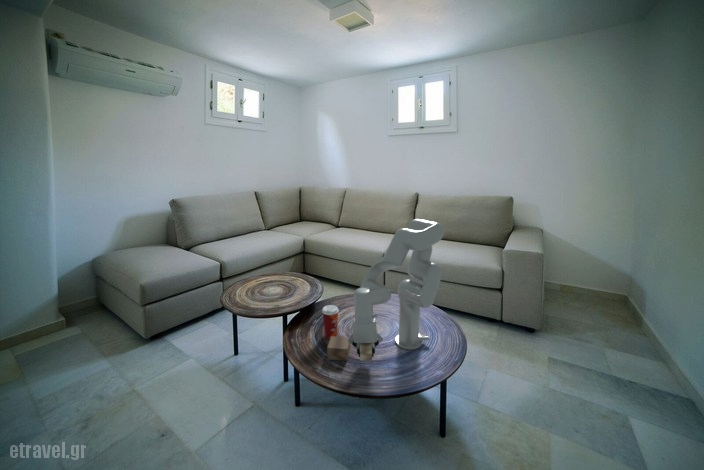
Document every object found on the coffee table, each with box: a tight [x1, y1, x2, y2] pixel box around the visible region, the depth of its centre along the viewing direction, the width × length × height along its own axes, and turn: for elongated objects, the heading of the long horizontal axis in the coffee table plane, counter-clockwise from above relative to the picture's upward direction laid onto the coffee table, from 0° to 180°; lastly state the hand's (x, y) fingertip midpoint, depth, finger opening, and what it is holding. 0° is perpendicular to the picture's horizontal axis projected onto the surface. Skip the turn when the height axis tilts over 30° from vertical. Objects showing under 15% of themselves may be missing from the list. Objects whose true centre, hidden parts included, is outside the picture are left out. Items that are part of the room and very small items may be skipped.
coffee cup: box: [321, 304, 339, 340], centre depth 151 cm, size 8×8×15 cm
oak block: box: [359, 343, 373, 362], centre depth 129 cm, size 5×5×7 cm
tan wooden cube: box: [326, 336, 351, 362], centre depth 137 cm, size 9×9×6 cm
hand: (366, 354), depth 129 cm, fingers closed on oak block, 5 cm apart
